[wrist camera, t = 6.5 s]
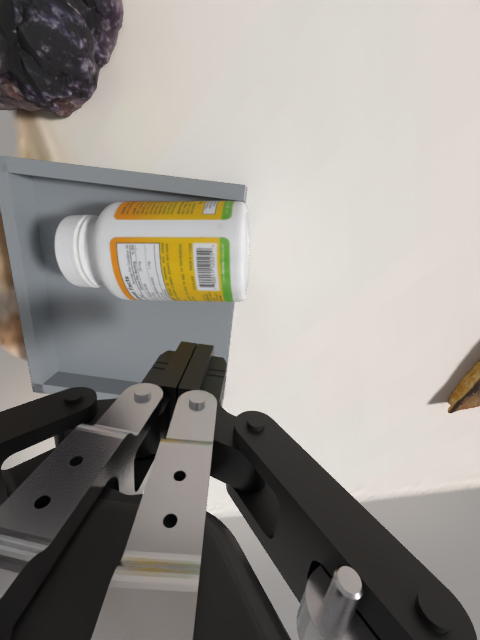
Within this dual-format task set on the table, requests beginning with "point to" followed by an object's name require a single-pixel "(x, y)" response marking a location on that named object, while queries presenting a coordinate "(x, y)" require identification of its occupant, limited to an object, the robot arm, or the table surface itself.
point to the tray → (87, 302)
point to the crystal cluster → (54, 51)
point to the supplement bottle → (159, 250)
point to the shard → (467, 391)
